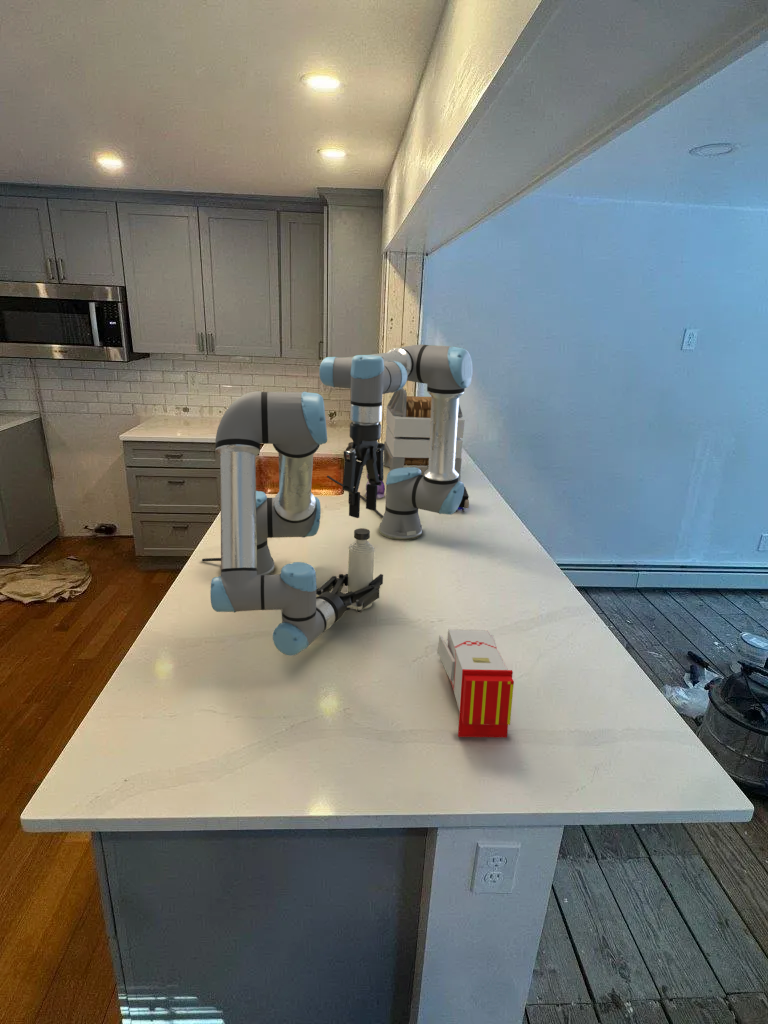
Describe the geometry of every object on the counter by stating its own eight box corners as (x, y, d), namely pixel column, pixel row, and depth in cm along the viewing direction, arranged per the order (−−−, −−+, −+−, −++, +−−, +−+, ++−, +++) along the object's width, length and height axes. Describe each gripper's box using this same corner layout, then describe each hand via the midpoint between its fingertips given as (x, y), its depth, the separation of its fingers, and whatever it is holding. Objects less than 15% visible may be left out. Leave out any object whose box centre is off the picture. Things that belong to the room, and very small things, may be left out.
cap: (371, 535, 147) (372, 529, 146) (366, 541, 143) (366, 535, 143) (357, 533, 148) (357, 527, 147) (351, 538, 144) (351, 532, 144)
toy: (488, 613, 130) (523, 677, 101) (484, 667, 133) (517, 744, 104) (435, 612, 130) (455, 676, 101) (432, 666, 133) (451, 743, 103)
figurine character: (469, 517, 223) (463, 501, 236) (471, 500, 219) (465, 484, 233) (452, 516, 222) (447, 500, 236) (454, 499, 219) (449, 483, 232)
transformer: (382, 463, 289) (386, 382, 275) (445, 464, 293) (451, 384, 279) (390, 482, 257) (394, 392, 243) (460, 483, 261) (468, 394, 247)
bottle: (375, 599, 154) (378, 530, 147) (367, 611, 148) (369, 539, 141) (352, 595, 156) (354, 526, 149) (343, 606, 150) (345, 535, 143)
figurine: (370, 501, 232) (371, 465, 226) (359, 493, 240) (360, 459, 235) (390, 498, 236) (392, 463, 231) (379, 491, 244) (380, 457, 239)
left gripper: (289, 614, 140) (338, 579, 160) (358, 637, 132) (401, 597, 151) (289, 587, 138) (338, 554, 157) (359, 609, 129) (402, 571, 149)
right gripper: (376, 415, 145) (373, 500, 153) (327, 425, 130) (326, 519, 138) (400, 419, 141) (396, 506, 149) (353, 430, 126) (350, 527, 134)
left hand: (369, 575), depth 154 cm, fingers closed on bottle, 7 cm apart
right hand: (362, 512), depth 143 cm, fingers open, 6 cm apart
